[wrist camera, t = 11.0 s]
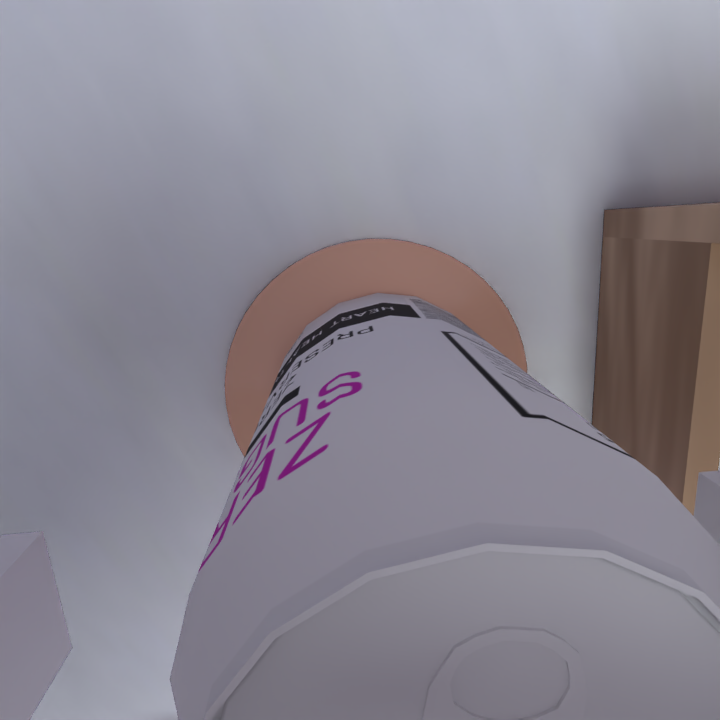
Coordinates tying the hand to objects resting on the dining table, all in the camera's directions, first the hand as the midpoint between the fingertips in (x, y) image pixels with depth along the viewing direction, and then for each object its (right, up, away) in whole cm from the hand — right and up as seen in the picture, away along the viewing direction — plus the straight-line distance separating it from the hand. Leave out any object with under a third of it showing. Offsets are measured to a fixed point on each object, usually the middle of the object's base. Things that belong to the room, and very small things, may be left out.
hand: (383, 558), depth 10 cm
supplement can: (0, +3, +10) cm, 11 cm away
